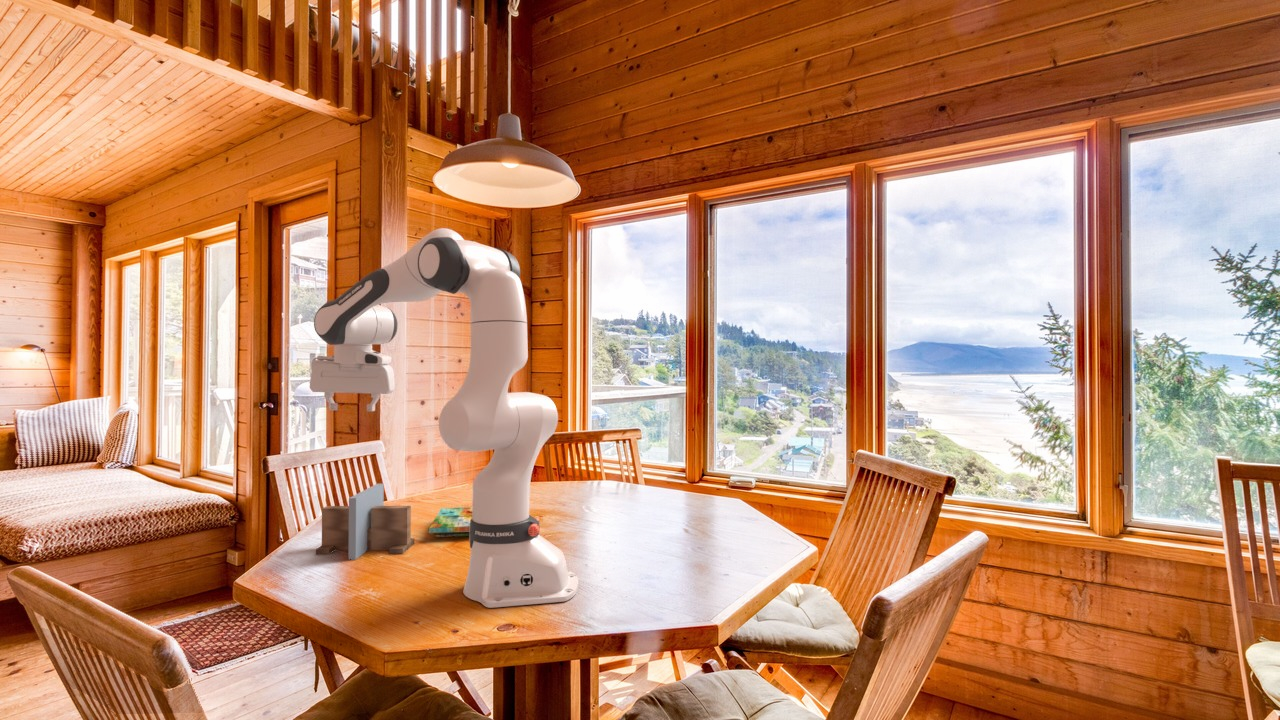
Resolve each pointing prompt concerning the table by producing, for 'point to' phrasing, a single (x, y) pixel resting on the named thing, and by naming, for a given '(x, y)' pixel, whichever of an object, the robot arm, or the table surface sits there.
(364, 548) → the grey notched slab
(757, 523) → the table surface
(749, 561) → the table surface
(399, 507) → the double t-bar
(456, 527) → the puzzle game
